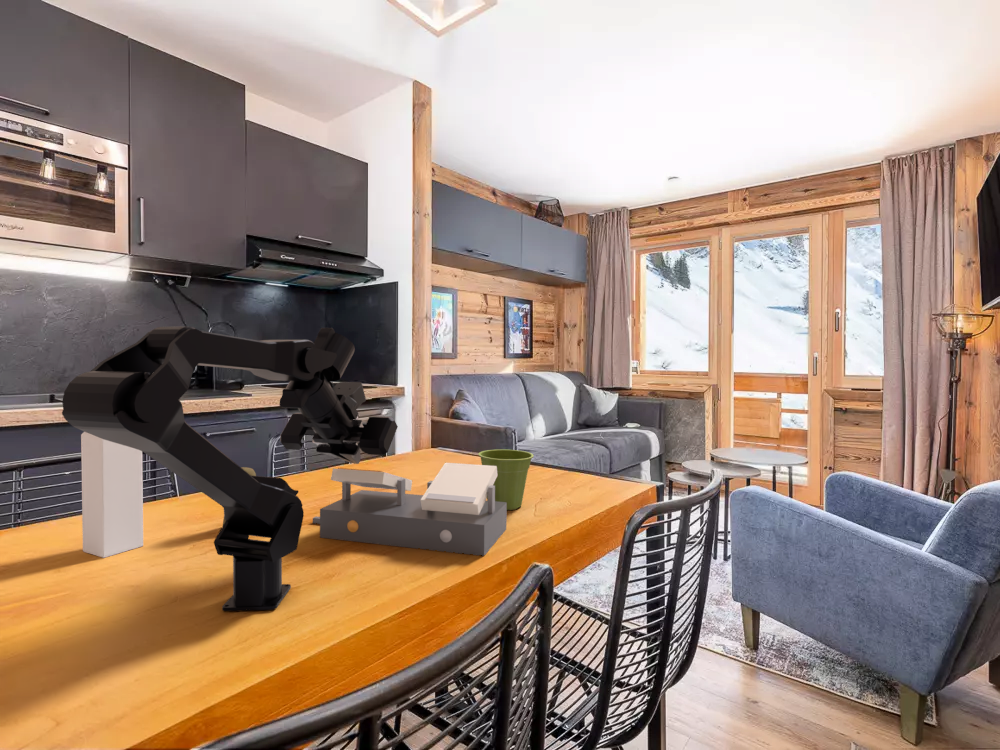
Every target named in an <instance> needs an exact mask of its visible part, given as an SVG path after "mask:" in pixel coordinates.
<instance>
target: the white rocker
mask: <svg viewBox="0 0 1000 750" xmlns="http://www.w3.org/2000/svg"><path fill="white" fill-rule="evenodd" d="M497 476H498V474H497V466H489V465H482V464H475V463H474V464H473V463H456V462H445V463H444V464H443V466H441V468H440V470H439V471H438V472H437V474H436V476H435V477H434V479H433V480H432V481H433V482H432V483H431V485H430V486H429V488H428V489H427V488H426V491H425V493H423V494H422V495H423V497H422V498H421V506H422V510H431V511H441V512H452V513H463V514H474V515H479V513H480V511H481V509H482V507H483V505H484V503H485V501H487V497H488V487H489V486H490V485H493V484H494V482H495V480H496V478H497Z"/></svg>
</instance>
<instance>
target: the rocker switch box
mask: <svg viewBox="0 0 1000 750" xmlns="http://www.w3.org/2000/svg"><path fill="white" fill-rule="evenodd" d="M432 482H433V480H430V481H427V484H426V485H427V486H426V490H427V489H428V488H429V486H430V485H431V483H432ZM351 486H352V484H348V483H343V482H341V488H342V490H341V499H340V500H339V499H338V500H337V501H334V502H332V503H331V504H328V505H326V506H323V507H322V508H320V509H319V516H314V517H312V524H316V523H317V524H319V538H322V539H333V540H339V541H348V542H349V541H351V542H356V543H367V544H375V545H382V546H384V545H385V546H392V547H401V548H408V549H418V548H420V550H426V549H429V551H435V550H437V551H436V552H438V551H439V552H444V551H446V553H453V552H455V553H454V554H462V553H464V555H470V554H473V555H472V556H479V555H482V556H481V557H484V555H485V556H486V554H487V553H488V552H489V551H490V550H491V548H492V547H493V546H494V545H495V543H496V542H497V541H498V540H499V539H500V537H501V536H502V535H503V534H504V533H505V532H506V530H507V513H508V512H507V511H508V510H507V502H497V501H495V486H494V485H490V486H489V487H488V501H487V500H486V501H485V503H484V505H483V507H482V509H481V511H480V513H479V515H474V514H463V513H452V512H441V511H431V510H422V506H421V498H422V497H423V495H424V494H413V493H406V490H405V479H402V478H401V479H399V480H397V492H389V491H378V490H367V489H366V490H364V489H360V490H359V491H356V492H354V493H352V494H351V492H352V490H351V488H352V487H351ZM317 524H316V525H317ZM498 538H499V539H498ZM489 549H490V550H489Z"/></svg>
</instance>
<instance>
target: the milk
mask: <svg viewBox="0 0 1000 750" xmlns="http://www.w3.org/2000/svg"><path fill="white" fill-rule="evenodd" d="M80 440H81V442H80V443H81V447H80V449H81V451H80V452H81V506H82V507H81V509H82V510H81V511H82V512H81V514H82V516H81V517H82V518H81V519H82V520H81V521H82V525H81V526H82V552H83V553H87V554H91V555H94V556H97V557H98V558H103V559H105V558H108V557H111V556H115V555H118V554H121V553H124V552H128V551H131V550H134V549H138V548H141V547H143V546H144V502H143V500H144V498H143V497H144V495H143V493H144V491H143V489H144V486H143V480H144V477H143V451H140V450H138V449H135V448H131V447H128V446H125V445H121V444H118V443H114V442H111V441H108V440H104V439H102V438H99V437H97V436H94V435H92V434H89V433H87V432H84V431H82V433H81V434H80Z"/></svg>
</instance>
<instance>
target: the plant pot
mask: <svg viewBox="0 0 1000 750" xmlns="http://www.w3.org/2000/svg"><path fill="white" fill-rule="evenodd" d="M478 457H479V458H480V461H481V465H489V466H497V474H498V476H497V478H496V480H495V482H494V484H493V485H494V486H495V501H497V502H507V511H513V510H518V508H520V507H522V504H523V499H524V493H525V488H526V482H527V479H528V478H527V477H528V472H529V469H530V465H531V462H532V459H533V458H534V454H533V453H532V452H529V451H525V450H517V449H487V450H482V451H480V452H478ZM486 501H488V497H487V499H486Z"/></svg>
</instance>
